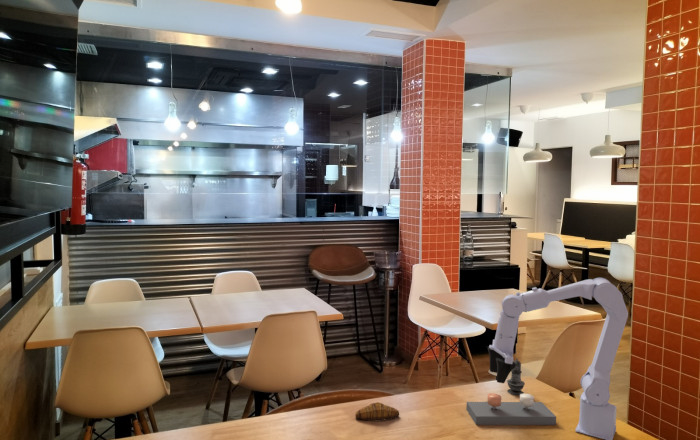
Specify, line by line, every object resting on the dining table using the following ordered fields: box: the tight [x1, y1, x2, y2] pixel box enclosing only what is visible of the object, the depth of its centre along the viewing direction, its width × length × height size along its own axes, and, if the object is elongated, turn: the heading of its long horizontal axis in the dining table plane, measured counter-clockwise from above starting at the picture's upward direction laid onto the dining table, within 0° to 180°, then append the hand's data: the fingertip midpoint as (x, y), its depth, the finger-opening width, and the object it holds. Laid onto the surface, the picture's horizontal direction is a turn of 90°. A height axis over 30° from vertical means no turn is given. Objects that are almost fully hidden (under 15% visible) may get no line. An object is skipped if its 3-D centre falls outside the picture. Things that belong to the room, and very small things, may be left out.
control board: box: [465, 401, 557, 426], centre depth 149 cm, size 24×10×2 cm, turn 92°
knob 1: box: [486, 392, 502, 410], centre depth 148 cm, size 4×4×5 cm
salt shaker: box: [506, 358, 526, 397], centre depth 167 cm, size 6×6×12 cm
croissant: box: [354, 401, 400, 421], centre depth 146 cm, size 14×7×5 cm, turn 100°
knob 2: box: [519, 393, 535, 410], centre depth 149 cm, size 4×4×5 cm
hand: (496, 376), depth 148 cm, fingers open, 7 cm apart
